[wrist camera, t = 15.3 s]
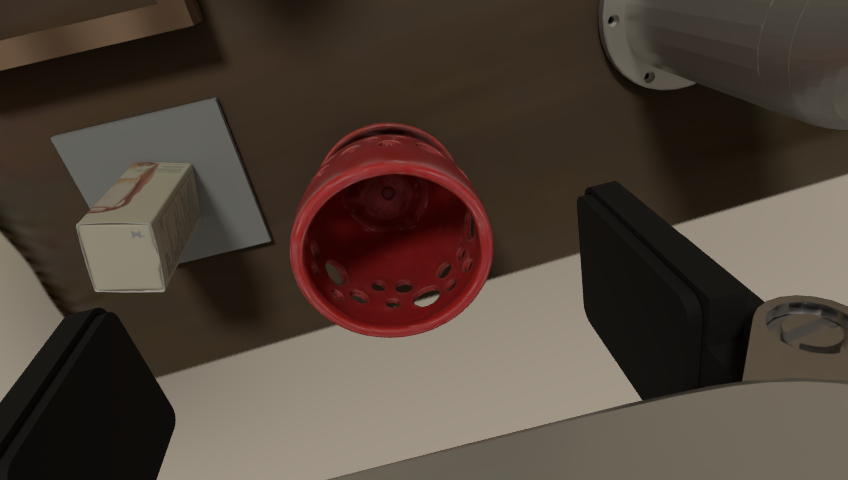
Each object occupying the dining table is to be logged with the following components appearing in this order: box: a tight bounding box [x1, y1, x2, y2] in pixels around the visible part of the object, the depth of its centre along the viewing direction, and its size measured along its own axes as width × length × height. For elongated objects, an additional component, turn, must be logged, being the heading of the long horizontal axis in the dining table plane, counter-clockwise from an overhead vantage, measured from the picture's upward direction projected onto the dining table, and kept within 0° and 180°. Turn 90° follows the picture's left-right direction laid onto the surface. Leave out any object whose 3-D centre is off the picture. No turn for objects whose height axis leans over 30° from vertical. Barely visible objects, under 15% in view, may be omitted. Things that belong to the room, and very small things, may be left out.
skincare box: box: [76, 162, 201, 292], centre depth 37 cm, size 5×4×10 cm
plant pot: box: [290, 122, 494, 338], centre depth 39 cm, size 13×13×12 cm
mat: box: [51, 97, 272, 264], centre depth 42 cm, size 12×12×1 cm
